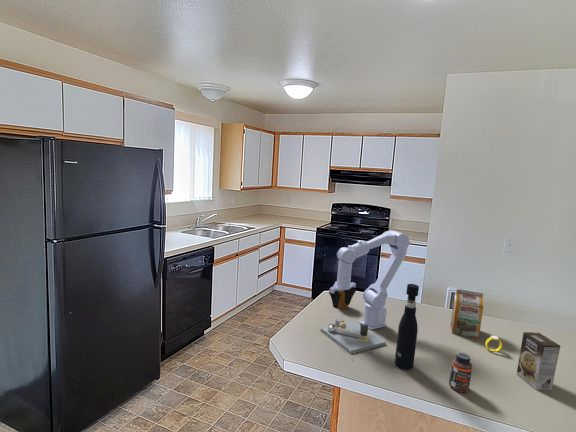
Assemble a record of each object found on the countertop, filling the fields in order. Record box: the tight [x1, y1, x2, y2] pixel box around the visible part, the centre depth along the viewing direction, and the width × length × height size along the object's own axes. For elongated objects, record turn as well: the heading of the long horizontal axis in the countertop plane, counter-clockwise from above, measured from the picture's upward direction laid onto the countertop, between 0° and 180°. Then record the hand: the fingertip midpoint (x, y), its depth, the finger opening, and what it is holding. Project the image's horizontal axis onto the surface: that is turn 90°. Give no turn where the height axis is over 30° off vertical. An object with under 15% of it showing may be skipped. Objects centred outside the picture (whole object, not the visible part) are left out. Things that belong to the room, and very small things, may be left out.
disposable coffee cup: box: [333, 280, 349, 310], centre depth 176 cm, size 10×10×12 cm
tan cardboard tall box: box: [450, 288, 484, 340], centre depth 156 cm, size 11×11×19 cm
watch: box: [484, 335, 503, 353], centre depth 141 cm, size 6×3×6 cm, turn 86°
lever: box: [327, 323, 369, 339], centre depth 145 cm, size 16×4×5 cm, turn 69°
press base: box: [320, 318, 387, 355], centre depth 145 cm, size 18×20×4 cm
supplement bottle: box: [448, 352, 473, 393], centre depth 114 cm, size 6×6×11 cm
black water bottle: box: [394, 283, 420, 371], centre depth 124 cm, size 6×6×30 cm
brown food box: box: [516, 331, 561, 391], centre depth 120 cm, size 9×6×16 cm
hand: (341, 305), depth 152 cm, fingers open, 7 cm apart
